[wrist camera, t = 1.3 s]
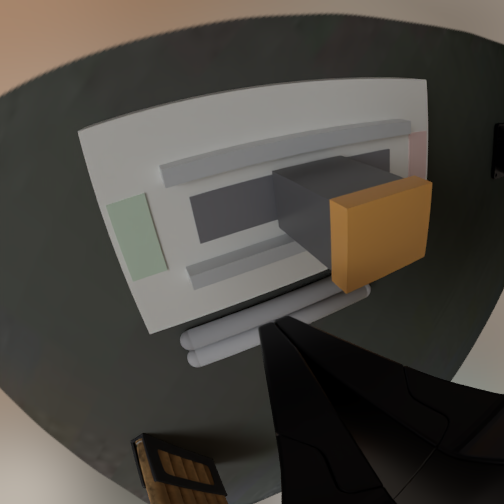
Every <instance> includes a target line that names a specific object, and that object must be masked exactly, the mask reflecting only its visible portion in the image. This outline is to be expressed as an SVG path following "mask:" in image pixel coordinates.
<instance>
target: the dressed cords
mask: <svg viewBox="0 0 504 504" xmlns="http://www.w3.org/2000/svg"><path fill="white" fill-rule="evenodd" d="M370 291H371V288H370V285H369V284H367V285H365V286H363V287H361V288H358V289H356V290H354V291H352V292H350V293H348V294H346V293H345V292H344V291H343V290H341V289H340V288H339V287H338V286H337V285H336V284H335V283H334V282H332V275H331V276H329V277H327V278H324V279H322V280H319V281H317V282H314V283H312V284H309V285H307V286H304V287H302V288H299V289H297V290H294V291H292V292H289V293H287V294H284V295H281V296H279V297H276V298H274V299H271V300H268V301H266V302H263V303H261V304H258V305H255V306H253V307H250V308H247V309H245V310H242V311H239V312H237V313H234V314H231V315H228V316H226V317H223V318H220V319H217V320H215V321H212V322H209V323H206V324H203V325H201V326H198V327H195V328H192V329H189V330H187V331H185V332H183V333H182V335H181V337H180V342H181V345H182V346H183V347H184V348H185V349H187V350H190V351H189V353H188V356H187V358H188V362H189V363H190V364H191V365H192V366H194V367H202V366H204V365H207V364H210V363H213V362H215V361H218V360H221V359H223V358H226V357H229V356H231V355H234V354H237V353H239V352H242V351H244V350H247V349H249V348H252V347H255V346H257V345H260V338H259V332H258V327H259V326H261V325H264V324H266V323H269V322H274V321H275V320H276V319H279V318H281V317H284V316H291V317H293V318H296V319H298V320H300V321H302V322H304V323H307V324H310V323H312V322H314V321H316V320H319V319H321V318H323V317H325V316H327V315H330V314H332V313H334V312H336V311H338V310H340V309H343V308H345V307H347V306H349V305H351V304H353V303H355V302H357V301H360V300H362V299H364V298H366V297H367V296H368V295H369V294H370Z"/></svg>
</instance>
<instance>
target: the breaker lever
mask: <svg viewBox="0 0 504 504" xmlns="http://www.w3.org/2000/svg"><path fill="white" fill-rule="evenodd" d="M272 175H273V183H274V191H275V199H276V207H277V215H278V223H279V228H280V229H281V230H283V231H284V232H285V233H286V234H288V235H289V236H290V237H291V238H292V239H294V240H295V241H296V242H297V243H298V244H300V245H301V246H302V247H303V248H304V249H306V250H307V251H308V252H309V253H310V254H312V255H313V256H314V257H315V258H316V259H318V260H319V261H320V262H321V263H322V264H324V265H325V266H326V267H327V268H328V269H329V270H331V271H332V282H334V283H335V284H336V285H337V286H338V287H339V288H340V289H341V290H343V291H344V292H345V293H346V294H348V293H350V292H352V291H354V290H356V289H358V288H361V287H363V286H365V285H367V284H369V283H371V282H373V281H376V280H378V279H380V278H382V277H384V276H386V275H388V274H390V273H392V272H394V271H396V270H398V269H400V268H402V267H404V266H406V265H408V264H410V263H412V262H414V261H416V260H418V259H420V258H422V257H424V256H425V249H426V242H427V234H428V226H429V217H430V207H431V195H432V182H430V181H428V180H425V179H422V178H420V177H417V176H415V175H414V176H410V177H407V178H403V177H400V176H397V175H395V174H392V173H390V172H387V171H384V170H381V169H379V168H376V167H373V166H370V165H367V164H365V163H362V162H359V161H356V160H353V159H350V158H347V157H344V156H341V155H340V156H335V157H330V158H326V159H321V160H317V161H312V162H308V163H303V164H299V165H295V166H290V167H286V168H282V169H278V170H274V171H272Z"/></svg>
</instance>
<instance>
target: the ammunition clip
mask: <svg viewBox="0 0 504 504" xmlns="http://www.w3.org/2000/svg"><path fill="white" fill-rule="evenodd" d="M131 445H132V449H133V454H134V458H135V461H136V465H137V469H138V473H139V476H140V480H141V483H142V487H143V488H146V489H147V492H148V496H149V499H150V503H151V504H228V503H227V500H226V498H225V497H226V496H227V493H226V491H225V488H224V486H223V484H222V481H221V479H220V476H219V474H218V471H217V469H216V466H215V464H214V461H213V459H211V458H208V457H205V456H202V455H199V454H196V453H193V452H190V451H187V450H185V449H182V448H179V447H177V446H174V445H171V444H169V443H166V442H164V441H161V440H159V439H156V438H154V437H152V436H149V435H147V434H144V433H143V434H141V435H140V436H138V437H137V438H135V439H133V440H132V441H131Z"/></svg>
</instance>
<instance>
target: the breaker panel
mask: <svg viewBox="0 0 504 504" xmlns="http://www.w3.org/2000/svg"><path fill="white" fill-rule="evenodd" d="M78 135H79V138H80V142H81V146H82V150H83V154H84V157H85V161H86V164H87V168H88V171H89V175H90V178H91V181H92V185H93V188H94V191H95V194H96V198H97V201H98V204H99V207H100V210H101V213H102V216H103V219H104V222H105V225H106V227H107V230H108V233H109V236H110V239H111V241H112V244H113V247H114V250H115V252H116V255H117V257H118V260H119V263H120V265H121V268H122V270H123V273H124V275H125V278H126V280H127V283H128V285H129V288H130V290H131V292H132V295H133V297H134V300H135V302H136V304H137V306H138V309H139V311H140V313H141V316H142V318H143V320H144V322H145V324H146V327H147V329H148V331H149V333H150V334H152V333H155V332H158V331H161V330H164V329H167V328H170V327H173V326H176V325H178V324H181V323H184V322H187V321H190V320H193V319H196V318H199V317H201V316H204V315H207V314H210V313H213V312H216V311H218V310H221V309H224V308H227V307H229V306H232V305H235V304H238V303H240V302H243V301H246V300H249V299H251V298H254V297H257V296H259V295H262V294H265V293H267V292H270V291H273V290H275V289H278V288H280V287H283V286H286V285H288V284H291V283H294V282H296V281H299V280H301V279H304V278H306V277H309V276H312V275H314V274H317V273H319V272H322V271H324V270H327V269H328V268H327V267H326V266H325V265H324V264H322V263H321V262H320V261H319V260H318V259H316V258H315V257H314V256H313V255H312V254H310V253H309V252H308V251H307V250H306V249H304V248H303V247H302V246H301V245H300V244H298V243H297V242H296V241H295V240H294V239H292V238H291V237H290V236H289V235H288V234H286V233H285V232H284V231H283V230H281V229H280V228H279V223H278V215H277V207H276V199H275V191H274V183H273V175H272V171H274V170H278V169H282V168H286V167H290V166H295V165H299V164H303V163H308V162H312V161H317V160H321V159H326V158H330V157H335V156H340V155H341V156H344V157H347V158H350V159H353V160H356V161H359V162H362V163H365V164H367V165H370V166H373V167H376V168H379V169H381V170H384V171H387V172H390V173H392V174H395V175H397V176H400V177H403V178H407V177H410V176H414V175H415V176H417V177H420V178H422V179H425V180H427V163H428V103H427V83H426V80H422V79H411V78H396V77H358V78H332V79H317V80H304V81H293V82H284V83H275V84H267V85H259V86H252V87H245V88H239V89H233V90H227V91H221V92H216V93H211V94H205V95H200V96H196V97H191V98H186V99H182V100H177V101H173V102H169V103H165V104H161V105H157V106H153V107H149V108H145V109H142V110H138V111H134V112H131V113H127V114H124V115H121V116H117V117H114V118H111V119H108V120H105V121H102V122H99V123H95V124H93V125H90V126H87V127H84V128H83V129H81V130H80V131H78Z"/></svg>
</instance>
